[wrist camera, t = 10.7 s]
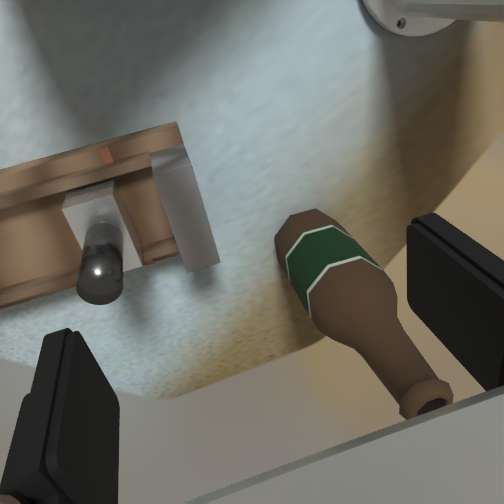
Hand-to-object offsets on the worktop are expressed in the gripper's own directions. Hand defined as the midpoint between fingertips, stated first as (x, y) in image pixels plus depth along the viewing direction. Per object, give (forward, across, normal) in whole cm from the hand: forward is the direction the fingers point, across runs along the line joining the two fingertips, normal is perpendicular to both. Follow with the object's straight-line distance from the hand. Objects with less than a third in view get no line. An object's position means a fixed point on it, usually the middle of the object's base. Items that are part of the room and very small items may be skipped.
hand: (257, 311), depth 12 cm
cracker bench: (+30, +12, +8) cm, 34 cm away
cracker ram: (+28, +9, +8) cm, 30 cm away
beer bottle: (+31, -10, +18) cm, 37 cm away
